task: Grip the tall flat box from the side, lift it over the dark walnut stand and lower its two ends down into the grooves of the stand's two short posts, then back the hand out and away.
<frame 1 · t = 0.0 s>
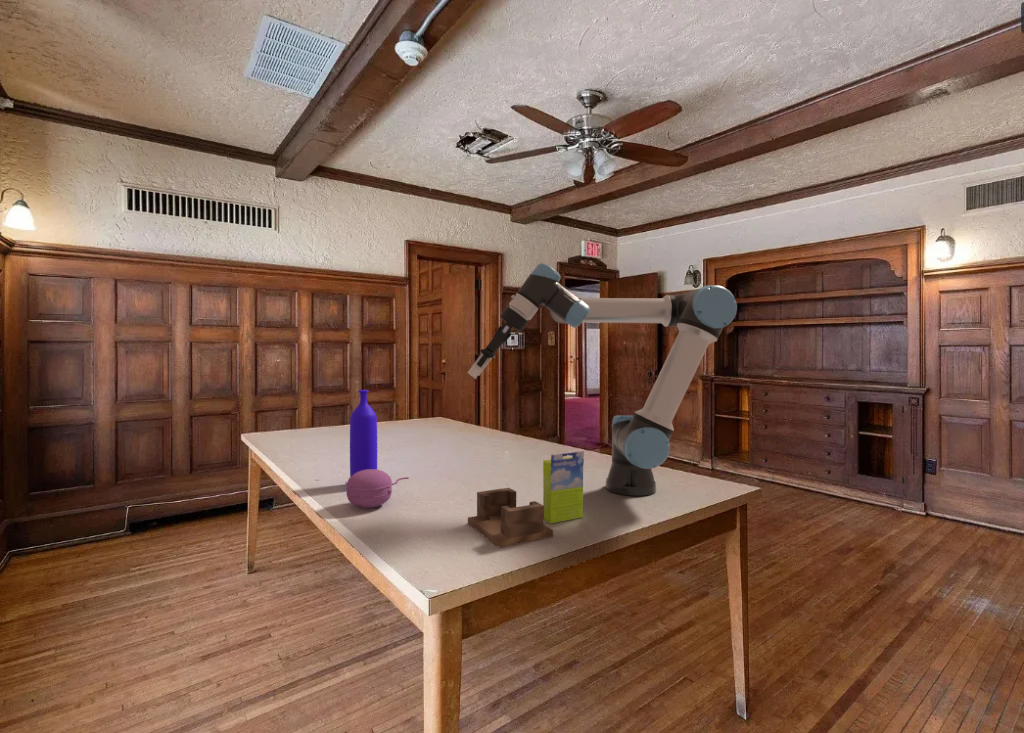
hand: (473, 374, 142), 36 cm above the table, tool tilted 35°, fingers open, 13 cm apart
pink toy mouse: (381, 505, 140), on the table
bottle: (363, 486, 159), on the table
slot stand: (508, 529, 121), on the table
box: (563, 519, 129), on the table
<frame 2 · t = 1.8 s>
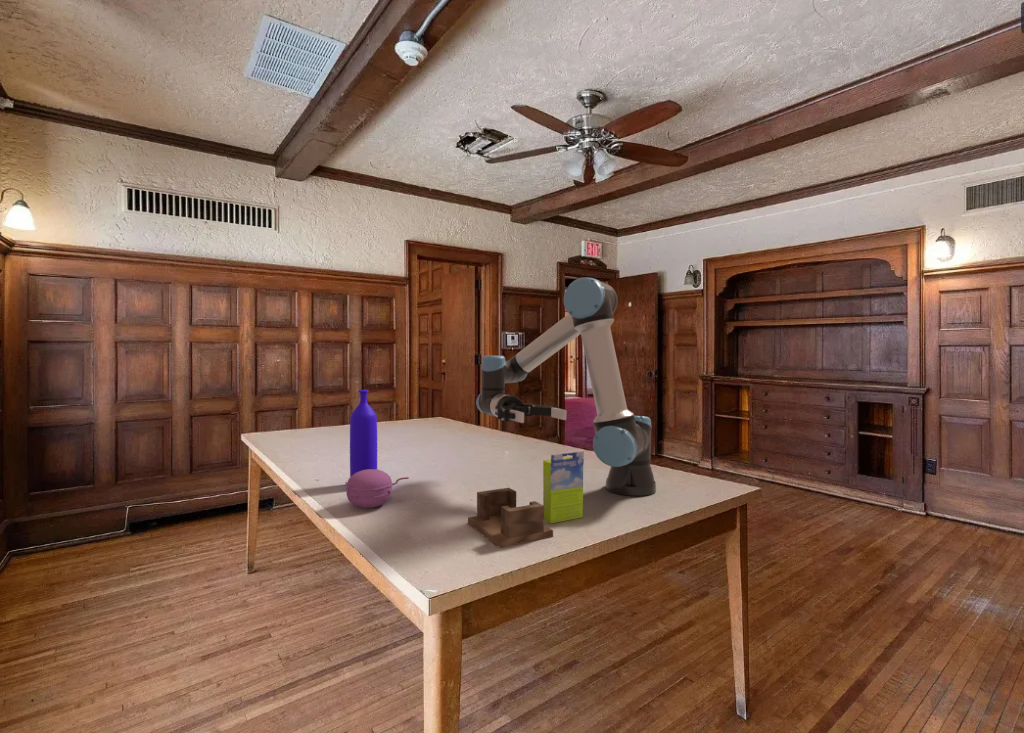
hand: (544, 416, 137), 25 cm above the table, tool horizontal, fingers open, 13 cm apart
nothing on the table moved.
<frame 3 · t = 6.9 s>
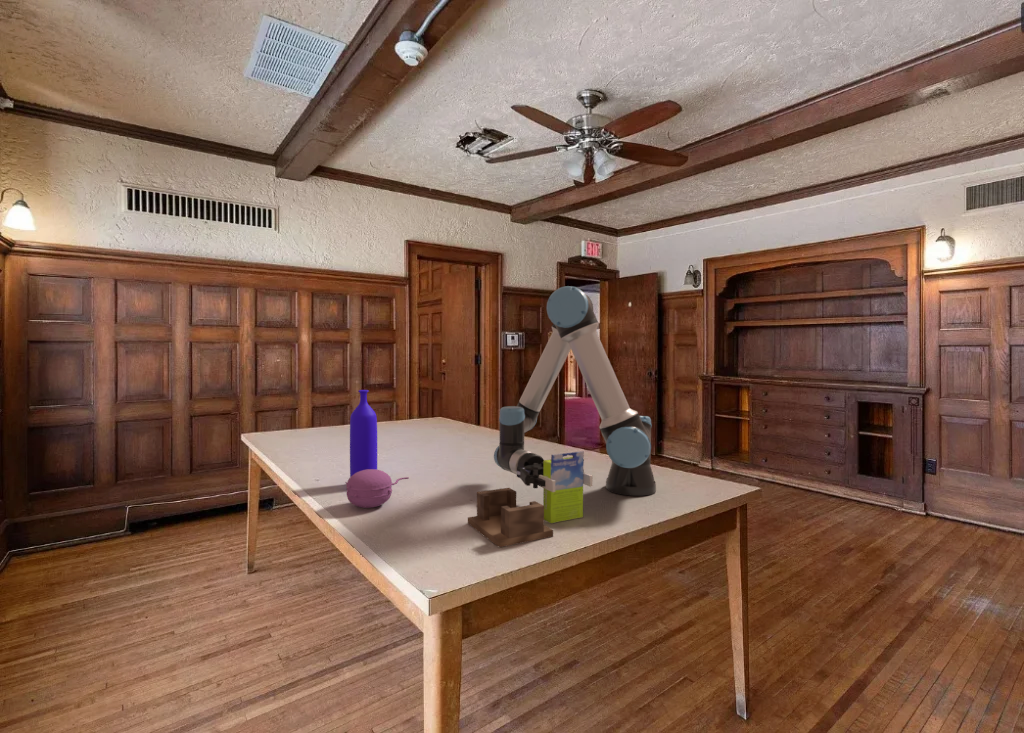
hand: (573, 483, 125), 10 cm above the table, tool horizontal, fingers closed on box, 10 cm apart
box: (563, 519, 129), on the table, touching gripper
everything else where it was.
when the fingers open (13 cm above the table, at t = 14.3 s): box drops 2 cm, resting on slot stand.
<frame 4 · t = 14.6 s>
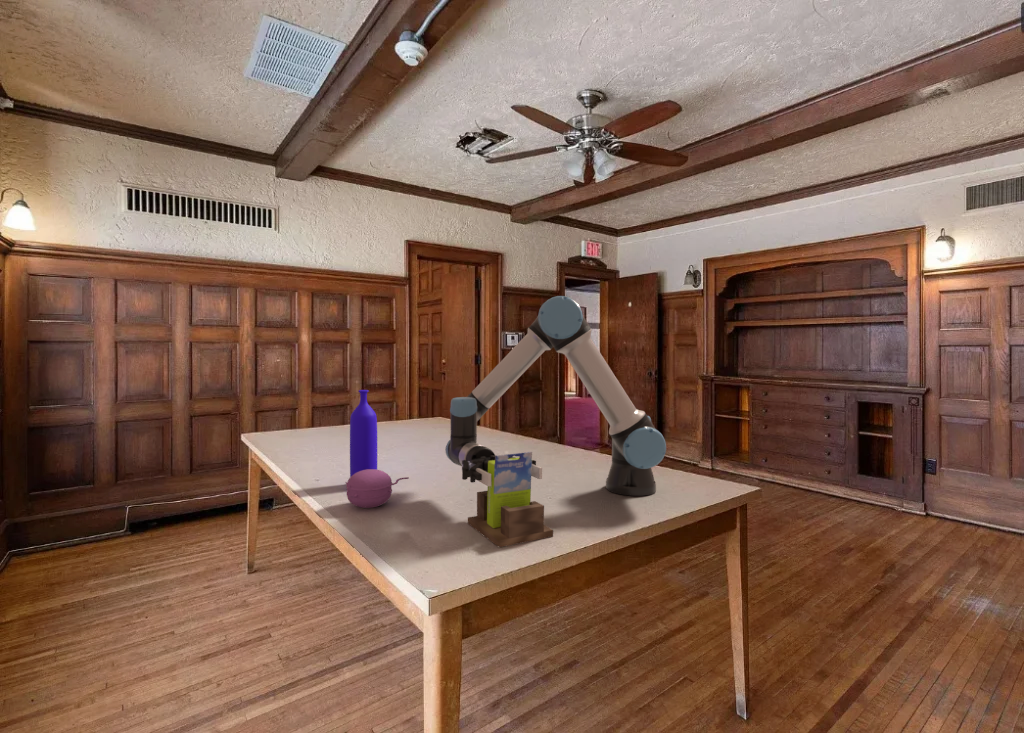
hand: (515, 476, 118), 13 cm above the table, tool horizontal, fingers open, 13 cm apart
box: (508, 523, 121), point 1 cm above the table, touching slot stand
everything else where it was.
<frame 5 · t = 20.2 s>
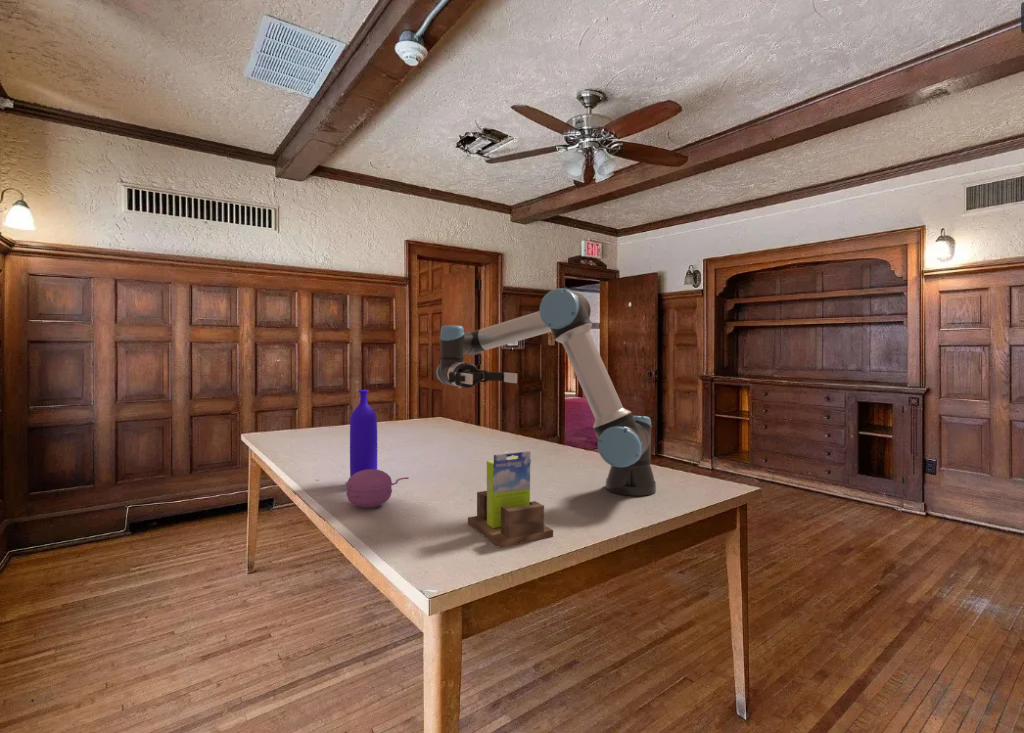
hand: (494, 378, 138), 35 cm above the table, tool horizontal, fingers open, 13 cm apart
nothing on the table moved.
at the end: box 0.2 cm off-centre on the slot stand, point 1.3 cm above the slot stand's base; box tilted 0°; the gripper is holding nothing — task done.
